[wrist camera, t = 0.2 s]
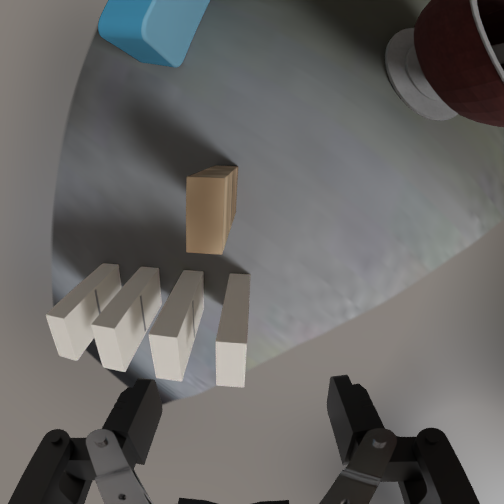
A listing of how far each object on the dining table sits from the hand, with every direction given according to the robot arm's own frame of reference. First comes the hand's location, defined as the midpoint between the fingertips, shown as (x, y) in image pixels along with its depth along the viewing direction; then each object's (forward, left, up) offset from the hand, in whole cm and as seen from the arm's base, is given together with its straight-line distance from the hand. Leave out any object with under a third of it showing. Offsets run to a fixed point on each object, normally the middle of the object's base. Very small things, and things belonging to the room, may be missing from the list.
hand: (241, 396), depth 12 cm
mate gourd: (-30, +9, -22) cm, 38 cm away
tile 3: (+9, -3, -22) cm, 24 cm away
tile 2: (+6, +2, -22) cm, 23 cm away
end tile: (+13, -13, -22) cm, 29 cm away
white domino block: (+11, -8, -22) cm, 26 cm away
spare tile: (-4, -5, -22) cm, 23 cm away
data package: (-19, -19, -22) cm, 35 cm away
